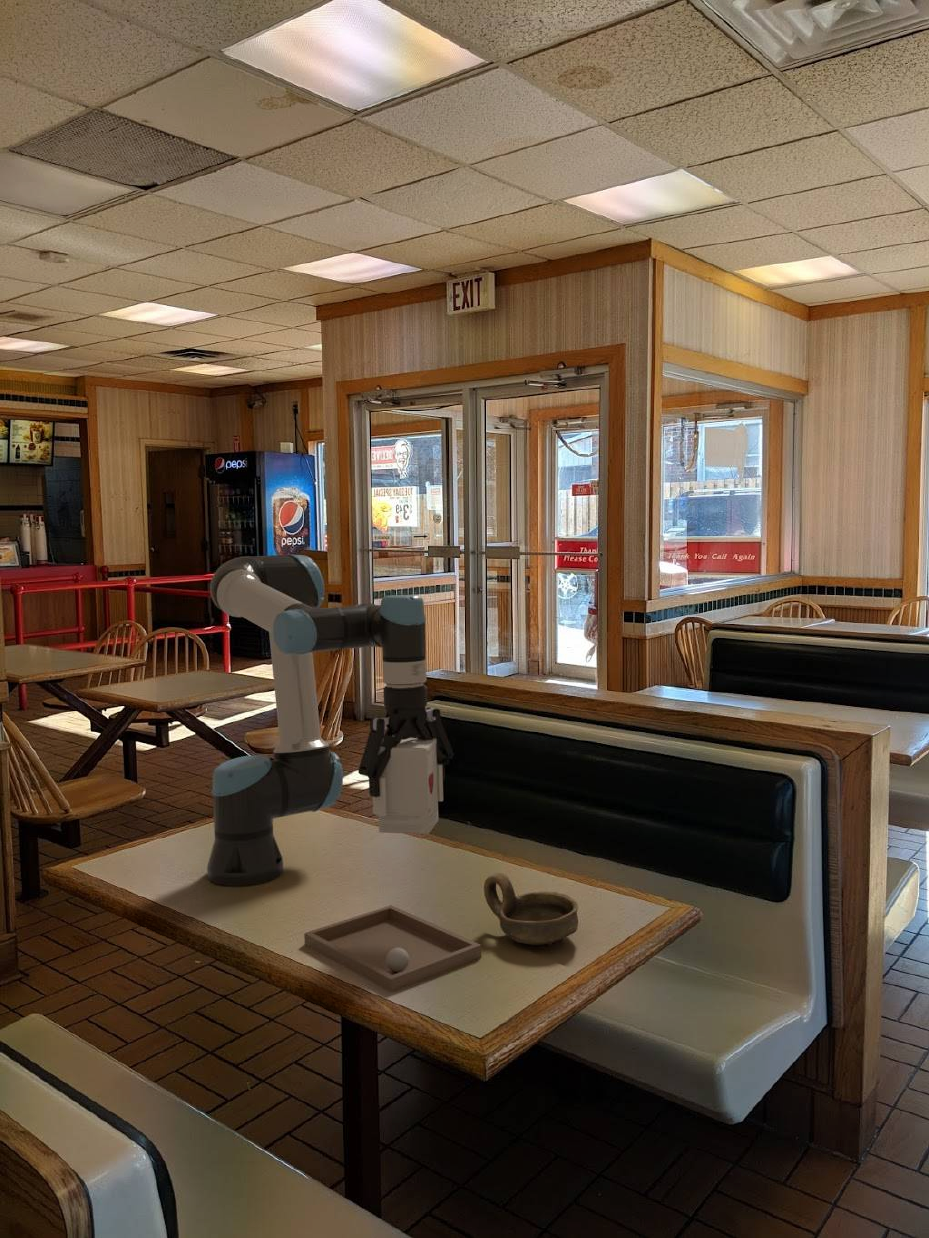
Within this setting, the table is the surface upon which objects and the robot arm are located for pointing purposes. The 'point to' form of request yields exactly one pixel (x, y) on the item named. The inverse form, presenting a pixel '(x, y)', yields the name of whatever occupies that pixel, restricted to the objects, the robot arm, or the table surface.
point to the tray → (392, 946)
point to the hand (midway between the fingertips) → (408, 807)
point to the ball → (397, 959)
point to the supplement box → (411, 788)
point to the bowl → (531, 912)
